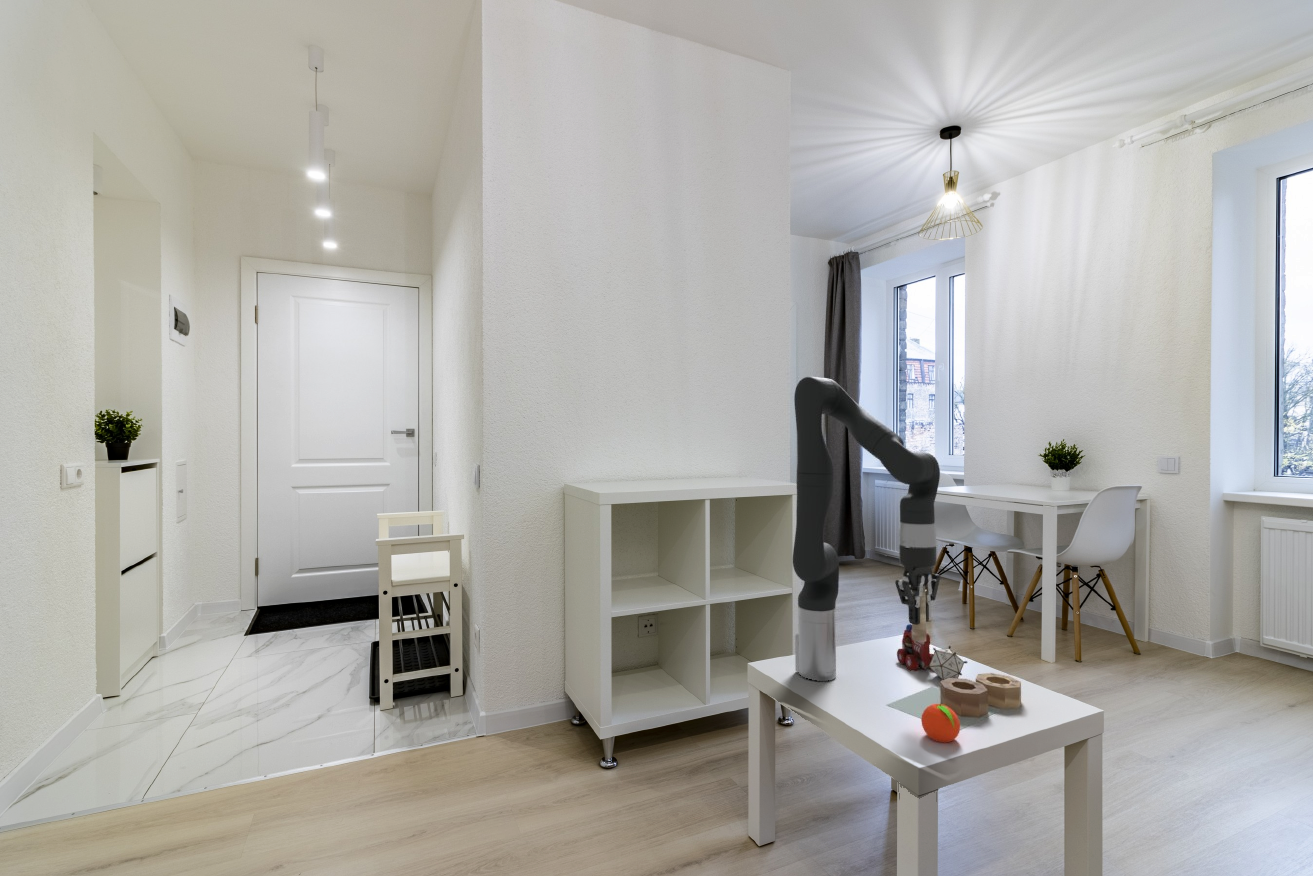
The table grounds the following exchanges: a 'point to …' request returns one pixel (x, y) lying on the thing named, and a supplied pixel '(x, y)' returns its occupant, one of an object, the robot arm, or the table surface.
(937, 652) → the game die
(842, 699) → the table surface
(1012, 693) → the oak bead
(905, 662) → the red toy car
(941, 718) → the clementine
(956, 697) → the walnut bead
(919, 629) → the birch peg
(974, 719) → the grey mat
